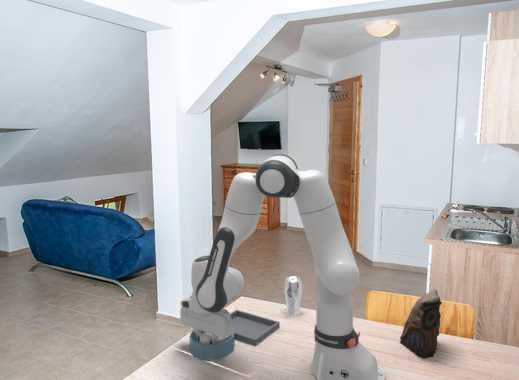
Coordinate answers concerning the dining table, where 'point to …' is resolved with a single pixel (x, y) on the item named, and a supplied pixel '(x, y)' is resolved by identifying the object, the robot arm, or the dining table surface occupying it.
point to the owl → (423, 326)
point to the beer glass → (293, 295)
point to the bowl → (211, 347)
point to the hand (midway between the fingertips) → (206, 342)
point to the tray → (252, 327)
